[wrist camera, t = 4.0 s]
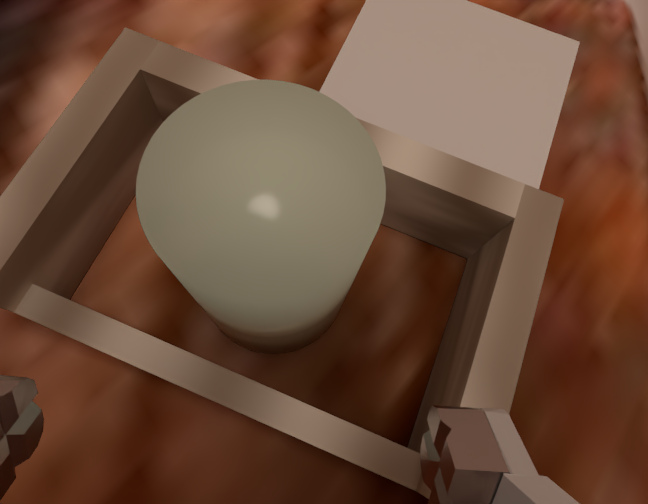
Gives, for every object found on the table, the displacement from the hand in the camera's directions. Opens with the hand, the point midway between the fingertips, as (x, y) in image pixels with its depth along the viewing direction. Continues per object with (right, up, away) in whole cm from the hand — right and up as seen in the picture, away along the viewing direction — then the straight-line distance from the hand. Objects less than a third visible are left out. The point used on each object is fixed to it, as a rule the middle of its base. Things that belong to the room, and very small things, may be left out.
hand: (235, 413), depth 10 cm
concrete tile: (+8, +12, +16) cm, 22 cm away
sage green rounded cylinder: (0, +2, +12) cm, 12 cm away
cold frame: (0, +2, +12) cm, 12 cm away
